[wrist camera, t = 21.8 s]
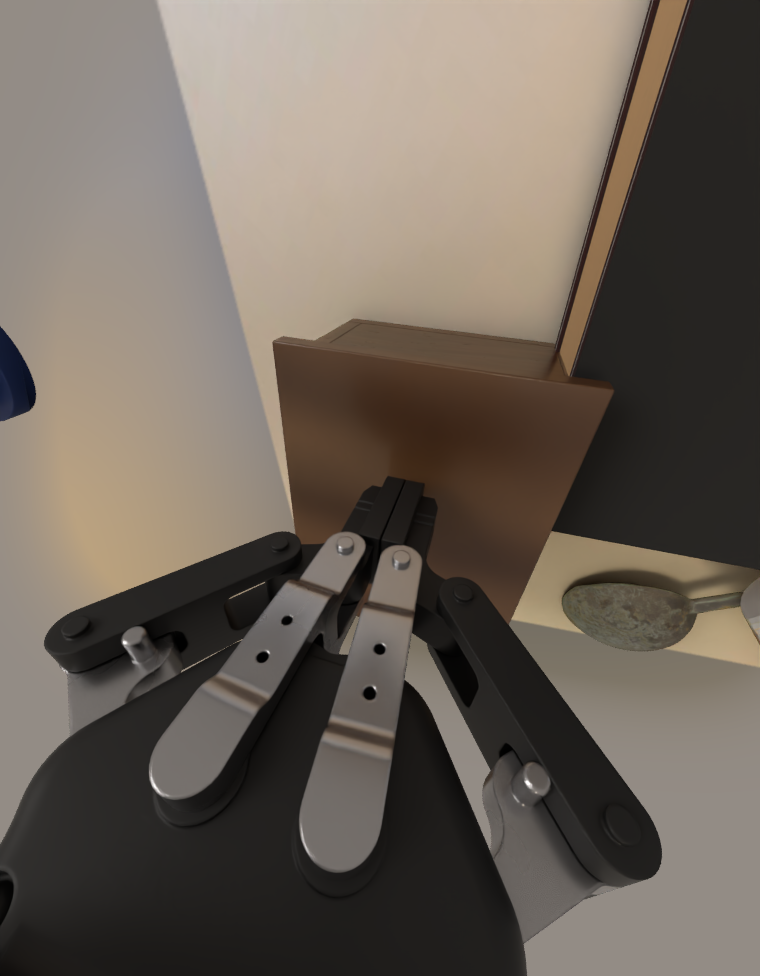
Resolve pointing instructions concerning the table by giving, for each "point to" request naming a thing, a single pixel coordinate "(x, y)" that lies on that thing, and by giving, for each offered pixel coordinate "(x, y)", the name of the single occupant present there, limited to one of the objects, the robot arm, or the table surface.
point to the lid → (437, 450)
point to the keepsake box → (450, 345)
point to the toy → (752, 607)
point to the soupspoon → (638, 614)
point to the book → (676, 296)
